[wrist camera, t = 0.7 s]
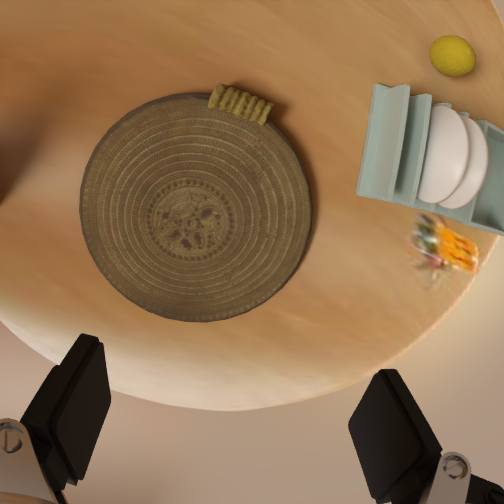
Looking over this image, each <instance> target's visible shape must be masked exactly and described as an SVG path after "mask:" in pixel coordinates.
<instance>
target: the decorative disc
mask: <svg viewBox="0 0 504 504" xmlns="http://www.w3.org/2000/svg"><path fill="white" fill-rule="evenodd" d="M273 106H274V104H273V103H272V102H266V101H265V100H264V99H259V98H258V97H257V96H251V94H250V93H248V92H242V91H240V90H238V89H236V88H234V87H229V86H227V85H225V84H218V85H217V86H216V87H215V89H214V91H213V93H212V95H207V94H201V93H191V94H176V95H170V96H167V97H163V98H160V99H156V100H153V101H149V102H147V103H145V104H144V105H142V106H140V107H138V108H136V109H134V110H132V111H131V112H129V113H127V114H126V115H125V116H124V117H122V118H121V119H120V120H119V121H118V122H117V123H115V124H114V125H113V126H112V127H111V128H110V129H109V130H108V131H107V133H106V134H105V135H104V136H103V138H102V139H101V140H100V142H99V143H98V144H97V146H96V147H95V149H94V151H93V153H92V155H91V157H90V159H89V161H88V164H87V166H86V168H85V172H84V176H83V180H82V184H81V188H80V205H79V212H80V220H81V226H82V232H83V235H84V238H85V241H86V244H87V247H88V250H89V253H90V254H91V256H92V258H93V260H94V262H95V263H96V265H97V267H98V269H99V270H100V272H101V273H102V274H103V275H104V276H105V278H106V279H107V280H108V281H109V282H110V284H111V285H112V286H113V287H114V288H115V289H116V290H117V291H118V292H120V293H121V294H122V295H123V296H124V297H126V298H127V299H128V300H130V301H131V302H133V303H134V304H136V305H138V306H139V307H141V308H142V309H144V310H146V311H148V312H151V313H154V314H156V315H159V316H161V317H164V318H168V319H173V320H179V321H184V322H213V321H219V320H225V319H229V318H232V317H235V316H238V315H241V314H244V313H247V312H248V311H250V310H252V309H254V308H256V307H257V306H259V305H261V304H263V303H264V302H266V301H267V300H268V299H269V298H271V297H272V296H273V295H274V294H275V293H277V292H278V291H279V290H280V289H281V288H282V287H283V286H284V284H285V283H286V282H287V281H288V280H289V278H290V277H291V276H292V275H293V273H294V272H295V270H296V268H297V267H298V265H299V263H300V261H301V259H302V257H303V255H304V253H305V250H306V247H307V243H308V240H309V236H310V233H311V226H312V212H313V205H312V198H311V190H310V184H309V181H308V178H307V175H306V172H305V170H304V167H303V164H302V161H301V159H300V158H299V156H298V155H297V153H296V151H295V150H294V148H293V147H292V145H291V143H290V142H289V140H288V139H287V138H286V137H285V136H284V135H283V134H282V133H281V132H280V131H279V130H278V128H277V127H276V126H275V125H274V124H273V123H272V122H271V121H269V120H268V119H267V117H268V115H269V113H270V111H271V110H272V108H273Z"/></svg>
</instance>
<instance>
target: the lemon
mask: <svg viewBox="0 0 504 504" xmlns="http://www.w3.org/2000/svg"><path fill="white" fill-rule="evenodd" d="M430 59H431V62H432V64H433V65H434V67H435V68H436V69H437V70H438V71H439V72H441V73H442V74H444V75H447V76H451V77H459V76H463V75H466V74H467V73H469V72H470V71H471V70H472V69H473V68H474V66H475V63H476V55H475V52H474V50H473V48H472V46H471V45H470V44H469V43H468V42H467V41H466V40H464V39H463V38H461V37H458V36H451V35H449V36H443V37H440V38H438V39H437V40H436V41H434V42H433V44H432V46H431V47H430Z"/></svg>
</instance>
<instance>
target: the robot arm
mask: <svg viewBox="0 0 504 504" xmlns="http://www.w3.org/2000/svg"><path fill="white" fill-rule="evenodd" d="M110 404H111V394H110V387H109V381H108V375H107V368H106V361H105V353H104V345H103V343H102V342H99V339H98V337H95V336H91V335H87V334H83V333H82V334H80V335H79V337H78V338H77V340H76V341H75V343H74V344H73V346H72V347H71V349H70V350H69V352H68V353H67V355H66V356H65V358H64V359H63V361H62V362H61V364H60V365H56V366H54V367H53V368H52V370H51V371H50V373H49V374H48V376H47V377H46V379H45V380H44V382H43V383H42V385H41V387H40V388H39V390H38V392H37V393H36V395H35V396H34V398H33V400H32V401H31V403H30V405H29V406H28V408H27V410H26V411H25V413H24V415H23V416H22V418H21V420H20V422H18V421H17V420H14V419H10V418H5V419H0V504H69V503H68V501H67V499H66V497H65V495H64V493H63V490H64V488H65V485H66V483H69V484H72V485H75V486H76V485H77V482H78V479H79V480H83V479H84V476H85V473H86V470H87V467H88V464H89V462H90V459H91V456H92V453H93V450H94V447H95V444H96V442H97V439H98V436H99V434H100V431H101V428H102V425H103V423H104V420H105V418H106V415H107V412H108V409H109V407H110ZM348 428H349V431H350V434H351V437H352V440H353V443H354V446H355V449H356V452H357V455H358V458H359V461H360V464H361V467H362V469H363V473H364V476H365V479H366V482H367V485H368V488H369V491H370V494H371V497H372V498H374V499H375V500H376V503H377V504H384V503H388V502H390V501H391V503H392V504H504V489H503V488H502V487H500V486H499V485H497V484H495V483H492V482H490V481H487V480H485V479H483V478H480V477H478V476H475V475H473V474H471V466H470V463H469V461H468V460H467V459H466V458H465V457H464V456H463V455H461V454H459V453H457V452H447V453H445V454H444V455H443V456H442V455H441V453H440V452H441V451H442V450H443V449H442V447H441V445H440V444H439V442H438V440H437V438H436V437H435V435H434V433H433V431H432V429H431V427H430V426H429V424H428V422H427V421H426V418H425V417H424V415H423V414H422V412H421V410H420V408H419V406H418V405H417V403H416V402H415V400H414V398H413V396H412V394H411V393H410V391H409V389H408V388H407V386H406V384H405V383H404V381H403V379H402V378H401V376H400V375H399V373H398V371H397V370H396V369H381V370H379V371H378V373H376V374H375V375H374V376H373V378H372V380H371V382H370V384H369V386H368V388H367V390H366V391H365V393H364V395H363V397H362V399H361V401H360V403H359V404H358V406H357V408H356V410H355V411H354V413H353V415H352V416H351V418H350V420H349V424H348Z"/></svg>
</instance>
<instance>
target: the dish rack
mask: <svg viewBox="0 0 504 504" xmlns="http://www.w3.org/2000/svg"><path fill="white" fill-rule="evenodd" d="M409 94H410V86H409V85H406V84H403V85H400V86H396V87H392V88H389V87H386V86H383V85H380V84H377V83H376V84H373V91H372V98H371V106H370V113H369V120H368V126H367V132H366V139H365V145H364V150H363V156H362V162H361V167H360V172H359V178H358V183H357V188H356V193H355V194H357V195H359V196H364V197H369V198H373V199H378V200H382V201H387V202H391V203H396V204H400V205H404V206H408V207H412V208H416V209H420V210H424V211H428V212H432V213H436V214H440V215H444V216H447V217H450V218H452V219H454V220H456V221H458V222H461V223H463V224H465V225H467V226H471V227H474V228H478V229H481V230H485V231H488V232H491V233H495V234H498V235H501V236H504V131H503V130H502V129H500V128H498V127H497V126H495V125H493V124H492V123H490V122H488V121H486V120H472V119H470V118H469V113H467V112H456V111H454V110H452V109H451V107H452V104H449V103H438V104H431V102H432V95H430V94H428V93H426V94H420V95H415V96H410V95H409Z"/></svg>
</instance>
